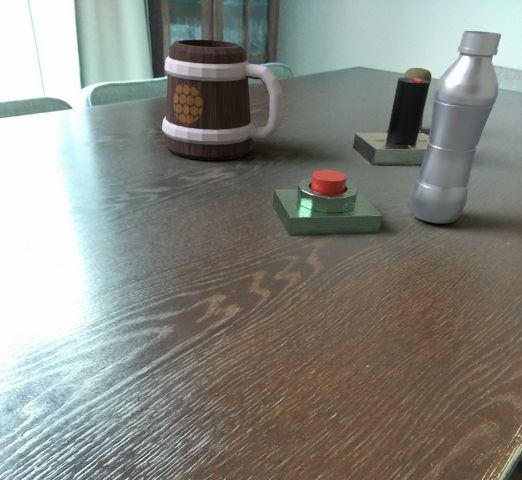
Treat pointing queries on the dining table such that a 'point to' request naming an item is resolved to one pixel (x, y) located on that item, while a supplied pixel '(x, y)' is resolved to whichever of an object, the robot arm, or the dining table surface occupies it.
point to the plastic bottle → (456, 129)
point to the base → (390, 149)
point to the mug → (214, 100)
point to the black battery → (407, 110)
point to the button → (328, 182)
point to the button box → (325, 211)
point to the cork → (419, 74)
